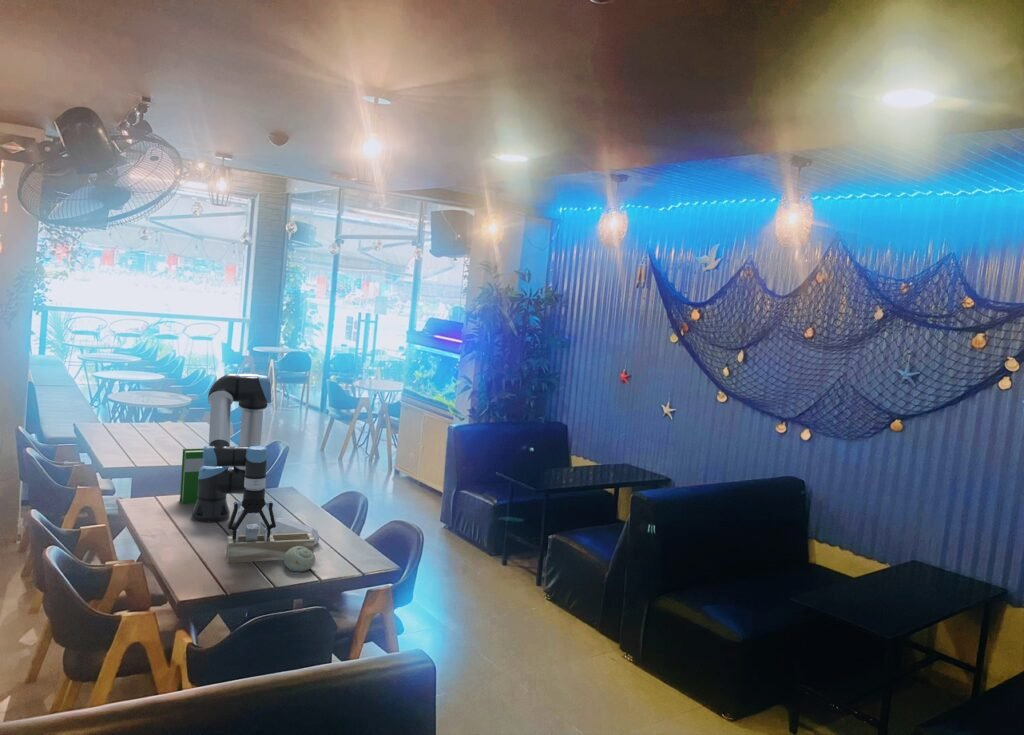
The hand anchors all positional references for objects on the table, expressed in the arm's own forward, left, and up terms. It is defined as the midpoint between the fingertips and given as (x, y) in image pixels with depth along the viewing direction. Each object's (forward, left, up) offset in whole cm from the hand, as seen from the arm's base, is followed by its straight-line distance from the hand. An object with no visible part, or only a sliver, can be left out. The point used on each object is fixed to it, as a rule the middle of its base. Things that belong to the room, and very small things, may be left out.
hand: (250, 546), depth 272 cm
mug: (-22, +1, -4) cm, 22 cm away
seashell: (+13, +16, -4) cm, 21 cm away
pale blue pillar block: (0, 0, -3) cm, 3 cm away
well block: (0, +7, -4) cm, 8 cm away
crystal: (-19, +19, -5) cm, 27 cm away
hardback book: (-77, -15, -4) cm, 79 cm away
